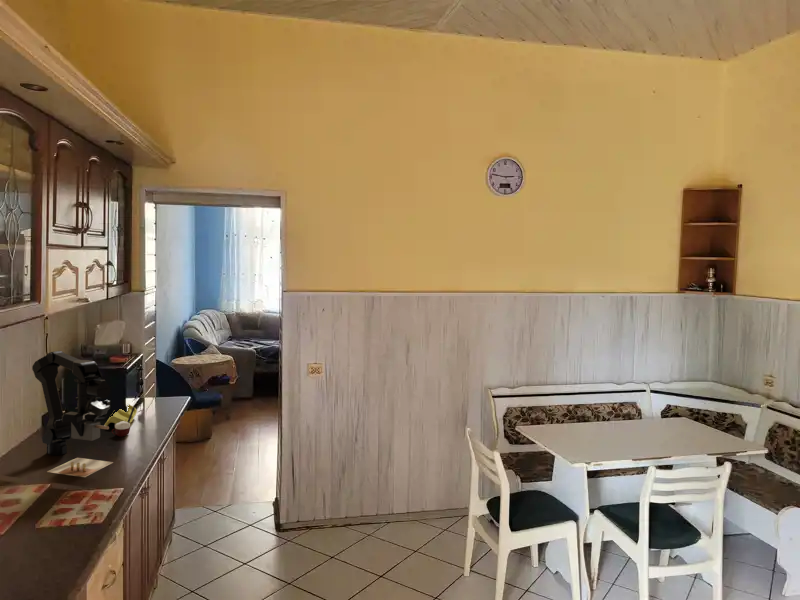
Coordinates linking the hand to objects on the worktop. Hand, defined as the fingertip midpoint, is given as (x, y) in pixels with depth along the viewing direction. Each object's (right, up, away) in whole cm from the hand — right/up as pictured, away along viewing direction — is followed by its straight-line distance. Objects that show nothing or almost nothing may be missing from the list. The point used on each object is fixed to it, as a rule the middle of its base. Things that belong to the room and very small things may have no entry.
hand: (85, 434), depth 236 cm
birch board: (0, -13, -4) cm, 14 cm away
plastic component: (-12, -7, +58) cm, 60 cm away
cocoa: (-3, -9, +39) cm, 40 cm away
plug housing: (+2, -1, 0) cm, 3 cm away
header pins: (+2, -12, -9) cm, 15 cm away
